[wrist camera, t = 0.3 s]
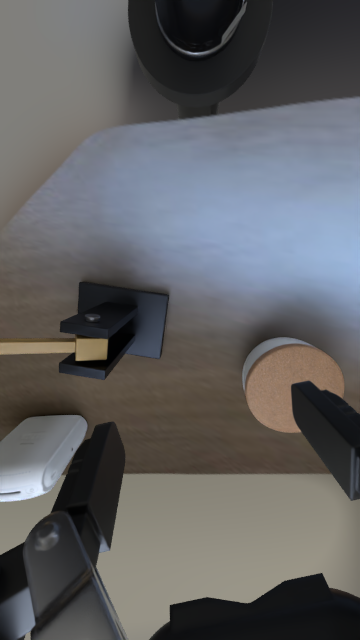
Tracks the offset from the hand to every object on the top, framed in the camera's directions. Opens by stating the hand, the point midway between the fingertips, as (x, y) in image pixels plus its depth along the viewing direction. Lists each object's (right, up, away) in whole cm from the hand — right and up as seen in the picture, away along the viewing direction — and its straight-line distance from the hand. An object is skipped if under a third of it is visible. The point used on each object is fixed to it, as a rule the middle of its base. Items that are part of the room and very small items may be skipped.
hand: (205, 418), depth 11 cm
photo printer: (-21, -12, +29) cm, 37 cm away
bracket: (-9, +4, +24) cm, 26 cm away
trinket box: (+12, -2, +24) cm, 27 cm away
